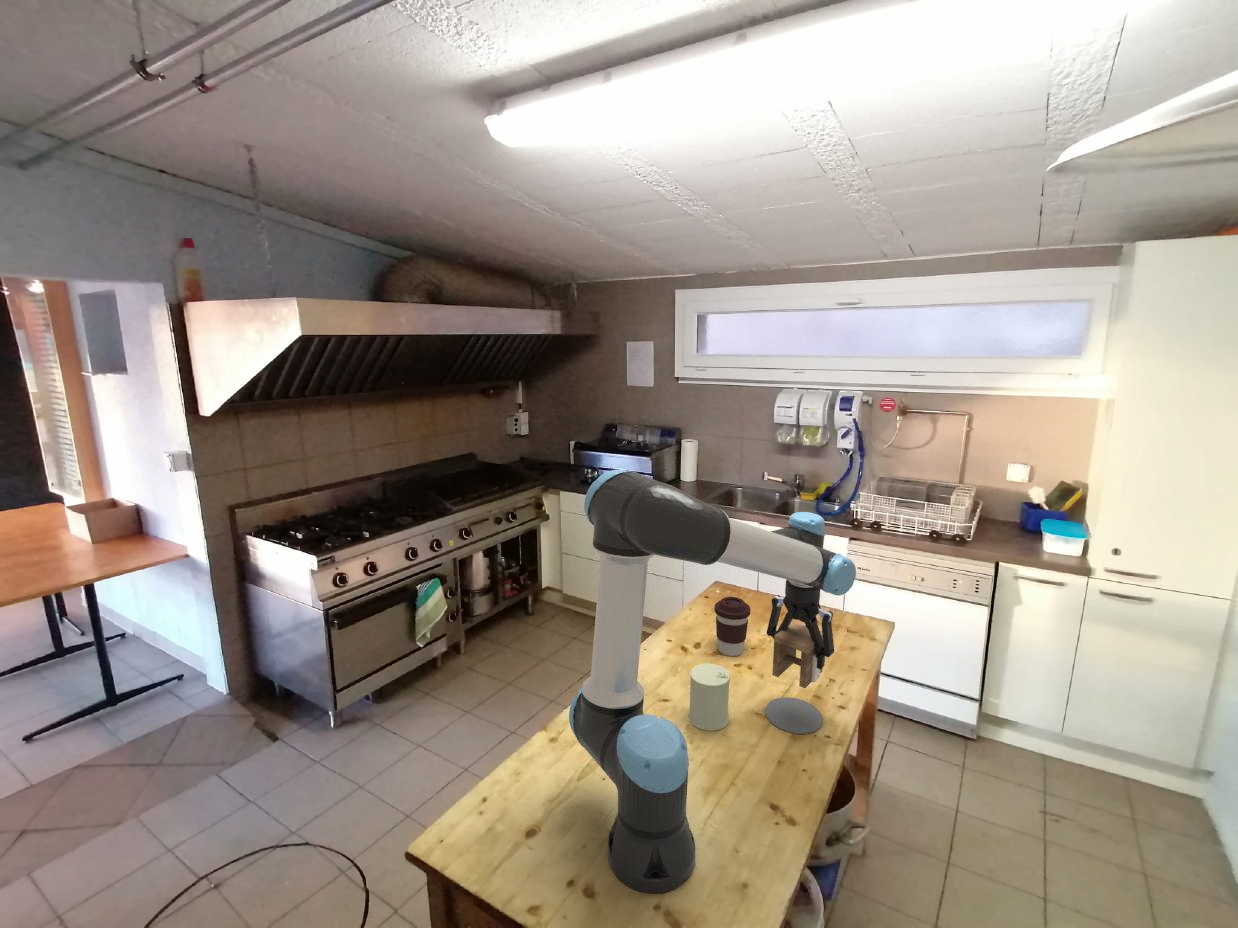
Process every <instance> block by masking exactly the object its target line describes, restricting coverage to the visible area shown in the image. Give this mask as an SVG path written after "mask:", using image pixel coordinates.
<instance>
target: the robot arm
mask: <svg viewBox="0 0 1238 928" xmlns="http://www.w3.org/2000/svg"><path fill="white" fill-rule="evenodd" d="M585 494H586V495H585V498H584V501H583V502H584V503H583V504H584V507H583V508H584V513H585V517H586V519H587V520H588V522H590V524H591V525H592V526H593V536H592V548H593V549H594V550H595V551H596V552H597V553H598V555H599V557H600V559H599V569H598V580H597V581H598V583H597V595H596V596H597V597H596V609H595V620H594V632H593V633H594V634H593V644H592V656H591V657H592V658H591V659H592V660H591V672H590V676H589V677H588V678H586V679H585V680H584V681H583V682H582V685H581V687H580V689H578V691H577V693H578V694H577V695H576V696H574V697H573V698H572V701H571V703H570V705H569V706H570V707H569V713H568V719H569V721H568V722H569V726H570V730H571V731H572V733H573V735H574V736H575V738H576V740H577V742H578V743H579V744H580V746H581V747H582V748H584V750H585V751H586V752H587V753H588V754H589V755H590V756H591V758H592V759H593V760H594V761H595V762H596V764H597V765H598V766H599V767H600V768H601V770H602V771H603V772H604V773H605V774H606V775H607V777H608V778H609V779H610V780H611V782H612V783H613V784H614V785H615V787H616V790H617V814H616V816H615V818H614V820H613V821H614V822H613V824H612V825H611V829H610V831H609V834H608V840H607V859H608V864H609V866H610V869H611V871H612V873H613V874H614V876H615V877H616V878H617V879H618V880H619V881H620V882H621V883H622V884H623V885H625V886H627V887H628V888H630V889H633V890H635V891H637V892H641V893H647V894H661V893H662V894H663V893H667V892H670V891H672V890H675V889H676V888H678V887H680V886H681V885H683V884H684V882H686V881H687V880H688V878H690V875H691V874H692V872H693V870H694V868H695V862H696V843H695V842H696V841H695V838H694V835H693V832H692V830H691V828H690V823H689V821H688V818H687V799H688V798H687V797H688V779H689V778H688V776H689V767H690V763H689V761H690V760H689V754H688V744H687V740H686V737H685V736H684V734H683V733H682V731H681V730H680V728H678V726H677V725H676V724H674V722H672V721H671V720H669V719H667V718H665V717H662V716H660V718H657V715H655V714H650V713H649V714H648V713H647V714H644V702H645V689H644V687H643V685H642V684H641V683H640V682H639V680H638V675H639V666H640V665H639V664H640V653H641V644H642V630H643V621H644V613H645V612H644V610H645V598H646V588H647V579H648V578H647V577H648V576H647V575H648V566H649V560H650V559H651V558H653V557H654V556H658V557H664V558H669V559H675V560H678V561H684V562H690V563H693V564H698V565H703V566H709V565H714V564H717V562H718V563H720V564H725V565H729V566H732V567H736V568H741V569H744V570H748V571H752V572H756V573H759V574H764V575H767V576H768V575H769V576H772V577H777V578H780V579H784V580H785V589H784V590H785V591H784V594H785V596H784V597H782V596H781V595H779V594H777V595H776V596H774V597H773V598H771V605H772V606H771V607H772V609H771V612H770V616H769V620H768V625H767V628H766V635H767V636H768V637H771V638H773V640H774V636H775V635H776V634H777V633H778V632H780V631H781V630H782V631H784V630H785V629H786V628H788V627H789V625H790V623H791V622H792V621H793V620H796V621H797V620H798V621H800V622H801V623H804V625H805V626H806V627H807V628H808V630H809V633H810V636H811V639H812V641H813V642H814V648H815V651H816V653H815V654H814V655H813V665H812V680H811V683H813V684H814V683H816V682H817V681H818V679H820V677H821V673H820V669H822V670H823V668H824V667H825V666H826V664H825V663H826V658H830V657H831V656H832V655H833V654H834V653H835V644H834V635H833V634H834V633H833V624H832V620H833V617H834V612H832V611H831V610H829V611H827V610H824V609H822V608H821V604H820V601H821V600H820V598H821V591H823V592H824V593H827V594H828V593H829V594H830V595H834V596H842V595H845V594H847V593H849V591H850V590H851V588H852V587H853V585H854V583H855V579H856V576H857V568H856V564H855V563H854V561H853V560H852V559H851V558H849V557H846V556H844V555H842V553H841V554H840V553H836V552H834V551H831V550H828V549H825V548H824V543H825V536H826V534H825V519H824V518H823V517H822V516H821V515H820V514H817V513H815V512H809V511H798V512H794V513H792V514H791V515H790V516H789V520H788V522H787V523H788V526H785V527H783V528H779V529H775V530H771V531H770V530H766V529H763V528H760V527H758V526H754V525H752V524H748V523H745V522H742V521H739V520H736V519H733V518H729V516H728V514H727V513H726V512H725V510H723V509H722V508H719V507H715V506H713V505H710V504H708V503H706V502H704V501H702V500H699V499H697V498H696V497H694V496H692V495H690V494H689V493H686V492H685V491H684V490H681V489H679V488H677V487H675V486H673V485H671V484H668V483H665V482H662V481H659V480H656V479H653V478H650V477H648V476H644V475H643V474H641V473H639V472H637V471H631V470H625V469H612V470H609V471H607V472H604V473H603V474H601V475H599V476H598V478H596V480H594V481H593V482H592V483H591V485H590V486H589V487H588V490H587V492H586V493H585ZM783 606H784V608H785V609H786V611H787V613H785V616H784V618H783V620H782V621H781V624H780V625H779V626H778V624H779V621H780V620H779V619H780V616H781V612H782V607H783ZM817 616H819V617H820V618H819V619H820V621H821V630H820V628H819V625H818V623H819V622H818V619H817ZM777 628H778V629H777ZM820 631H822V634H823V639H822V636H821V633H820Z"/></svg>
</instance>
